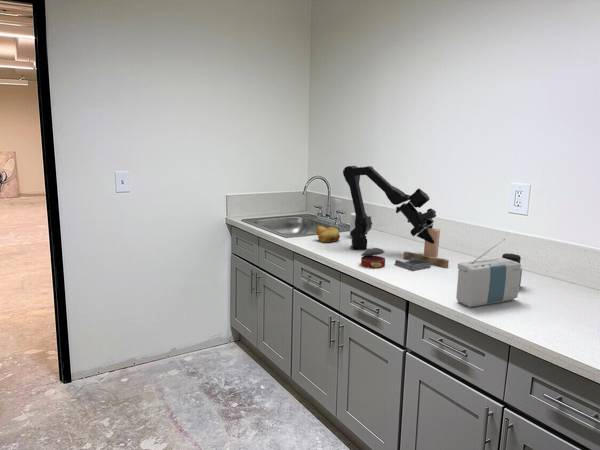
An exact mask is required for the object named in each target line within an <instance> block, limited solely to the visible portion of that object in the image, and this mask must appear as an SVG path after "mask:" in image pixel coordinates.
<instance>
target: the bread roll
mask: <svg viewBox="0 0 600 450" xmlns="http://www.w3.org/2000/svg"><path fill="white" fill-rule="evenodd" d="M315 232H316V235H317V238H318V240H319V242H321V243H334V242H337V241H338V240H339V239H340V238H341V235H340V232H339V230H338V228H336V227H332V226H331V227H330V226H329V227H326V226H323V225H317V226H316V228H315Z"/></svg>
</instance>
